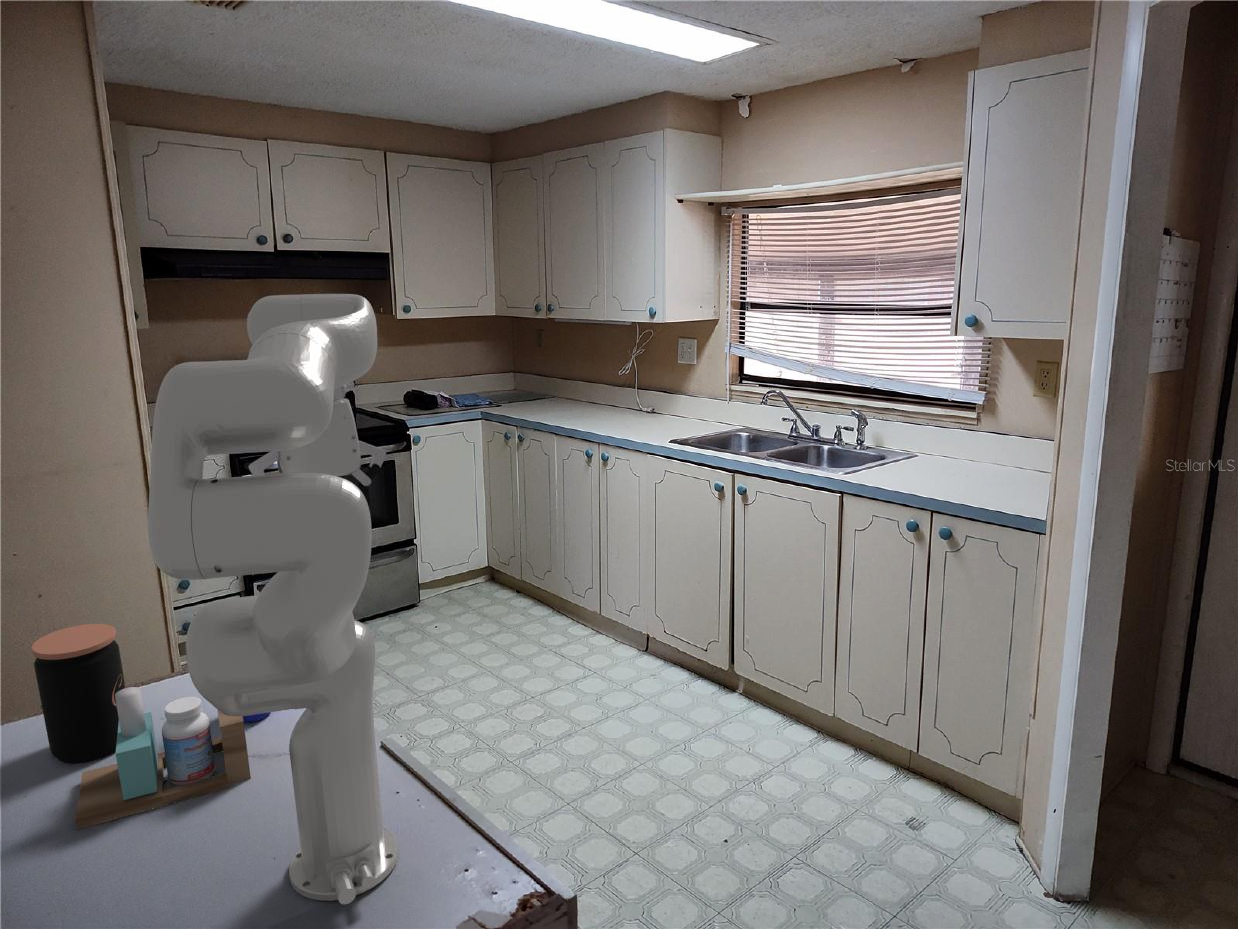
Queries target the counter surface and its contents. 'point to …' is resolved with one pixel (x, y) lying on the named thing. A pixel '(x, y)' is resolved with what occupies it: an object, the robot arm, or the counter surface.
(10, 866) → the counter surface
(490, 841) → the counter surface
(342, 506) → the robot arm
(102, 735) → the coffee jar
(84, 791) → the wooden tray
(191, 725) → the pill bottle
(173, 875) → the counter surface
